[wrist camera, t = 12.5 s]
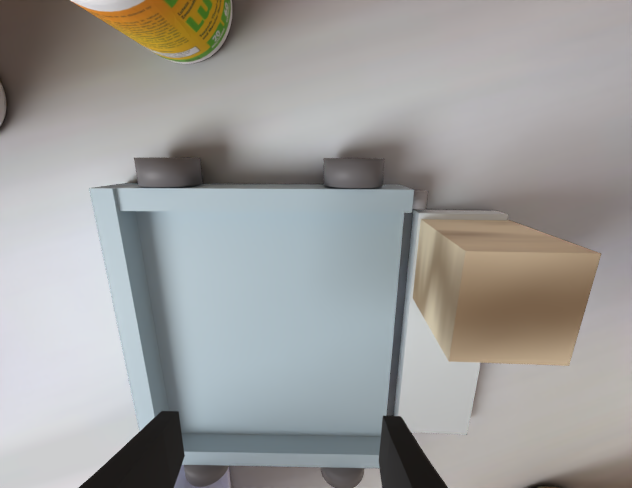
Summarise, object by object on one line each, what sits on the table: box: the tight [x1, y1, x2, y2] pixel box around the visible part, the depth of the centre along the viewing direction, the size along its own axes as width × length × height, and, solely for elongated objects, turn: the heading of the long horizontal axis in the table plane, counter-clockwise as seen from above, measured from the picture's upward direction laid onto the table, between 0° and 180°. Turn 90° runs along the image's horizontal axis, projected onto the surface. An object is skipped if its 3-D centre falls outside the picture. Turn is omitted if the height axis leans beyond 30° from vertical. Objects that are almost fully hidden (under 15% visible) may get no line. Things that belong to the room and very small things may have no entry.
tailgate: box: [394, 210, 509, 435], centre depth 20 cm, size 16×2×5 cm
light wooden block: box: [413, 219, 601, 366], centre depth 15 cm, size 5×5×6 cm
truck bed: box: [89, 158, 428, 488], centre depth 19 cm, size 22×18×3 cm
